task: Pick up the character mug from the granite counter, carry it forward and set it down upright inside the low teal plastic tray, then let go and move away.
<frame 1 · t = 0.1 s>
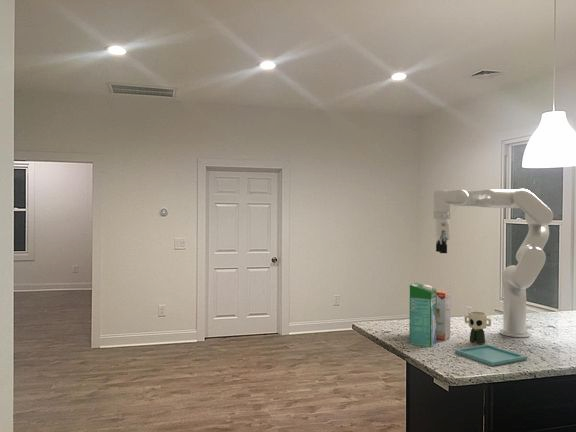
hand: (441, 252, 218), 37 cm above the table, tool pointing down, fingers open, 9 cm apart
character mug: (477, 343, 197), on the table
tray: (490, 356, 178), on the table
cracker box: (432, 337, 207), on the table
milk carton: (422, 343, 197), on the table
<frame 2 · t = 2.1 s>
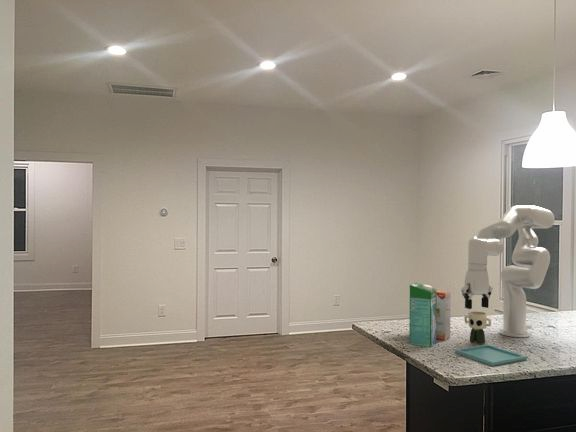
hand: (476, 307, 197), 15 cm above the table, tool pointing down, fingers open, 9 cm apart
nothing on the table moved.
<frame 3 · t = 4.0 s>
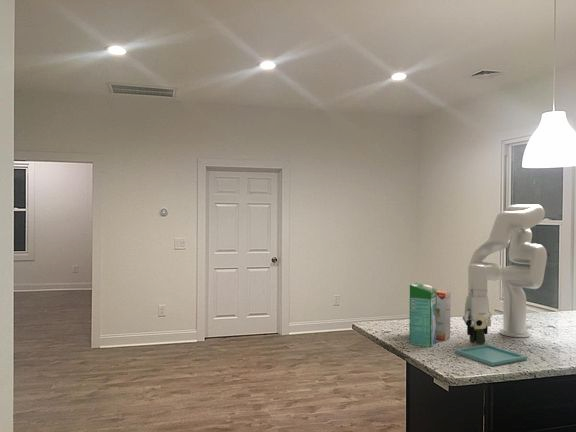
hand: (477, 334, 197), 4 cm above the table, tool pointing down, fingers closed on character mug, 7 cm apart
character mug: (477, 343, 197), on the table, touching gripper
everything else where it was.
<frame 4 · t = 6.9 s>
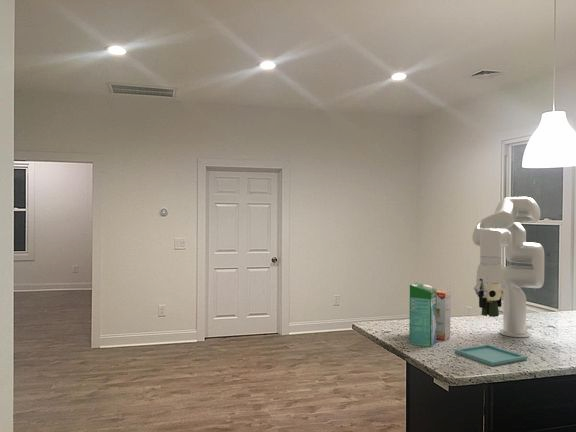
hand: (490, 306, 178), 19 cm above the table, tool pointing down, fingers closed on character mug, 7 cm apart
character mug: (490, 317, 178), point 15 cm above the table, touching gripper
everything else where it was.
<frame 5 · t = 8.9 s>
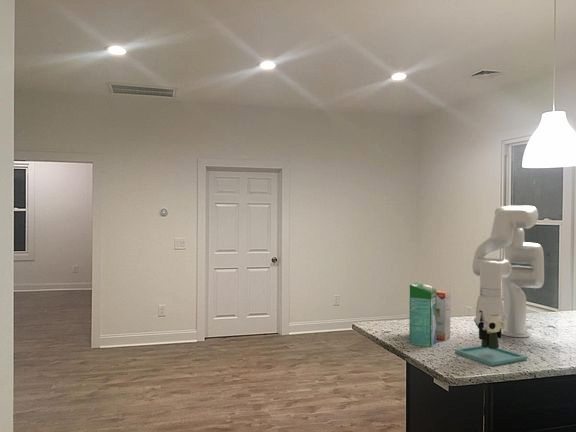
hand: (490, 338, 178), 7 cm above the table, tool pointing down, fingers closed on character mug, 7 cm apart
character mug: (489, 348, 178), point 3 cm above the table, touching gripper
everything else where it was.
when the fingers open (6 cm above the table, at t = 10.2 s): character mug drops 1 cm, resting on tray.
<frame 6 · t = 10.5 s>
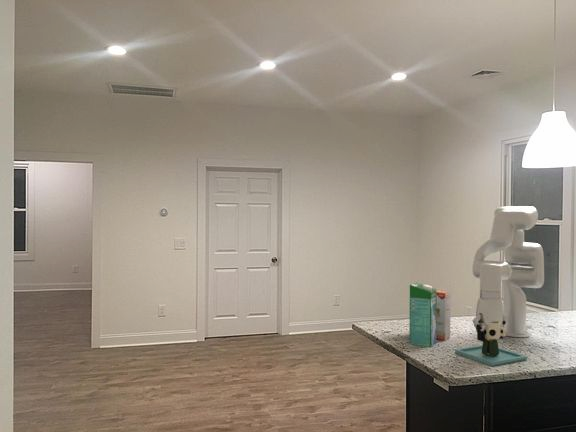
hand: (490, 339, 178), 7 cm above the table, tool pointing down, fingers open, 9 cm apart
character mug: (490, 355, 178), resting on tray
everything else where it was.
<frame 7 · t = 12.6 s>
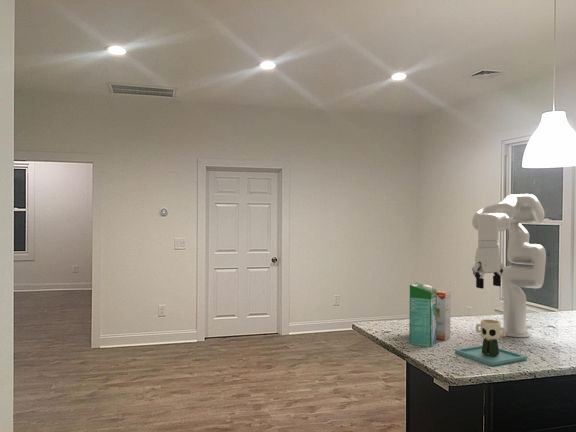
hand: (488, 286, 186), 26 cm above the table, tool pointing down, fingers open, 9 cm apart
nothing on the table moved.
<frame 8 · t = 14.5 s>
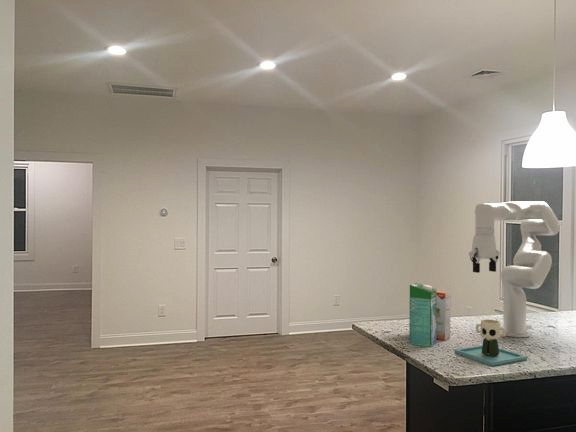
hand: (484, 271, 199), 30 cm above the table, tool pointing down, fingers open, 9 cm apart
nothing on the table moved.
at the end: character mug inside the target area on the tray (0.4 cm from its centre), point 0.4 cm above the tray's base; character mug tilted 0°; the gripper is holding nothing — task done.
